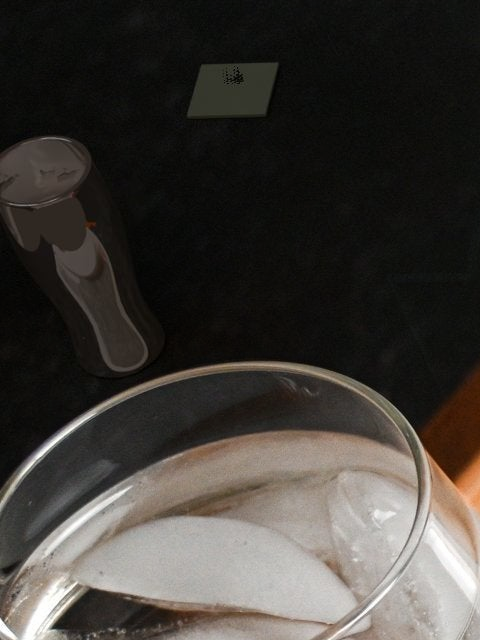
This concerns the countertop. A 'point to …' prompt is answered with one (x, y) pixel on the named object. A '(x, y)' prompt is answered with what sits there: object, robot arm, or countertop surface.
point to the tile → (233, 91)
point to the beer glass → (78, 253)
